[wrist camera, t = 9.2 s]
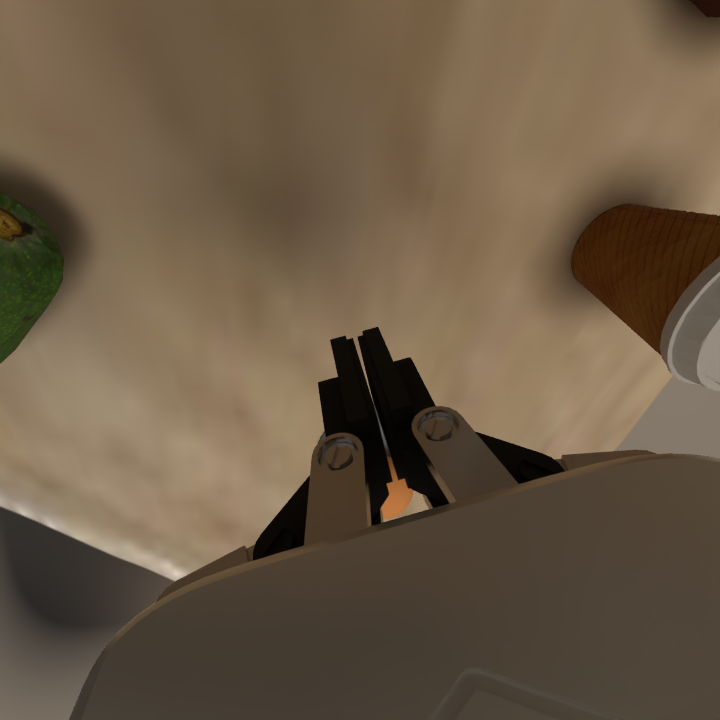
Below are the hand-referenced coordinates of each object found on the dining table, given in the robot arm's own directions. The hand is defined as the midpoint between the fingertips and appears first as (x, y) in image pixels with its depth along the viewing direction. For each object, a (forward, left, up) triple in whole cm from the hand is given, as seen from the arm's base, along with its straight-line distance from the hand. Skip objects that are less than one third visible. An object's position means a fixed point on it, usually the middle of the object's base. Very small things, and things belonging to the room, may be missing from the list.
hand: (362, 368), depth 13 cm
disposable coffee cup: (+6, +21, -14) cm, 26 cm away
